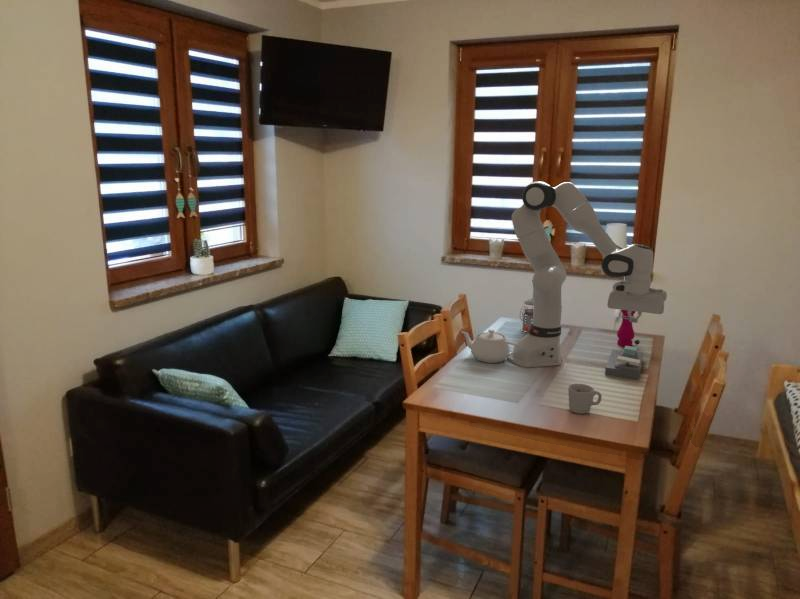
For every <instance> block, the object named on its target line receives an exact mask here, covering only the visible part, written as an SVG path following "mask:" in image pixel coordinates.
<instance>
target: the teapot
mask: <svg viewBox="0 0 800 599" xmlns="http://www.w3.org/2000/svg"><path fill="white" fill-rule="evenodd" d="M460 332H461V333H462V334H463V335H464V337H465V341H466V342H465V343H466V346H467V347H468V348H469V349H470V352H471V354H472V356H473V357H474V358H475V359H476V360H477V361H479V362H484V363H488V364H490V363H491V364H496V363H501V362H504V360H507V357H509V356H511V355H513V354H515V353H516V352H517V351H518V349H519V345H518V344H517V342H513V341H509V340H507V337H506V336H505V335H504V334H501V333H497V332H496V331H495V329H488V330H487V331H486V332H480V333H477V335H476V336H475V338H474V340H473V341H472V339H471V338H470V334H469V333H468V332H466V331H464V330H463V331H460ZM509 345H512V346H513V347H514V346H515V350H514V349H513V350H514V351H512V352H511V351H510V346H509Z"/></svg>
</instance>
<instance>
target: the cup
mask: <svg viewBox="0 0 800 599" xmlns="http://www.w3.org/2000/svg"><path fill="white" fill-rule="evenodd" d="M596 395H598V396H597V397H598V399H597V400H596V401H594V397H595V396H596ZM601 401H602V393H601V392H600V391H597V390H595V389H594V387H592V386H591V385H587V384H583V383H572V384H569V386H568V408H569V410H570V411H571V412H573V413H574V414H580V415H585V414H588V413H589V412H590V411H591V408H592V406H598V405H599V404H601Z"/></svg>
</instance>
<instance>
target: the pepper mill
mask: <svg viewBox="0 0 800 599" xmlns="http://www.w3.org/2000/svg"><path fill="white" fill-rule="evenodd" d="M620 311H621V313H622V314H621V318H622V319H621V324H620V327H619V328H618V330H617V333H616V336H617V338H618V339H617V345H618V344H619V346H620V345H622V346H621V347H625V346H631V347H633V344H634V343H633V339H634V338H635V331H634V327H633V322H629V321H630V318H629V316H628V313H627V312H628V310H620ZM636 312H637V311H632V312H631V316H632V317H635V315H634V314H635V313H636Z"/></svg>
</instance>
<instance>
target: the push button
mask: <svg viewBox="0 0 800 599" xmlns="http://www.w3.org/2000/svg"><path fill="white" fill-rule="evenodd" d="M623 350H624V355H630V356H636V354H637V352H638V347H637V346H636V347H633V346H624V348H623Z"/></svg>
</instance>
